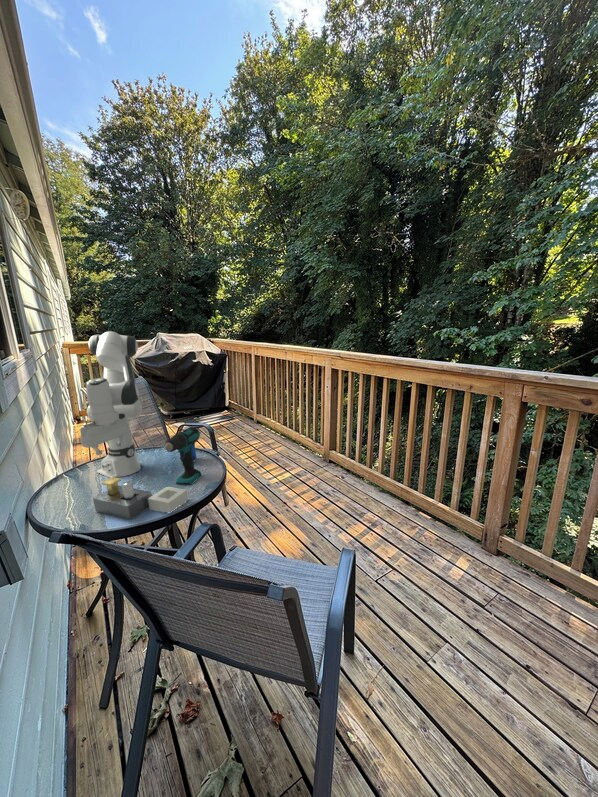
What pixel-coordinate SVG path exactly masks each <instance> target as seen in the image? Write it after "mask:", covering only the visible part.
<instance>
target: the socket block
mask: <svg viewBox="0 0 598 797" xmlns="http://www.w3.org/2000/svg"><path fill="white" fill-rule="evenodd" d="M118 487H119V492H120V493H118V494H116V495H114V496H110V495H108V490H105V491H104V492H102V493H100V494H98V495H97V496H95V497H92V500H93V504H94V505H93V506H94V511H95V512H96V511H98V512H99V513H101V514H106V515H110V516H113V517H118V518H122V519H126V520H129V521H131V520H132V519H134V518H135V517H137V516H138V515H140V514H141V513H143V512H144V511H146V510H147V509H150V508H149V502H148V498H150V497H151V496H153V493H152V491H149V490H145V489H144V490H142V489H139V488H134V487H133V489H134V494H135V497H134V498H132V499H131V500H129V501H128V500H124V495H123V489H122V485H119V484H118ZM98 512H97V513H98Z"/></svg>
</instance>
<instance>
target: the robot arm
mask: <svg viewBox="0 0 598 797" xmlns="http://www.w3.org/2000/svg"><path fill="white" fill-rule="evenodd" d="M88 348H89V351H90V353H91V354H92V355H94V356H96V360H97V362H98V363H99V364H100V366H102V367H103V374H102V375H103V376H102V377H96V378H93V379H90V380H88V381H86V386H85V388H86V399H87V404H88V407H87V409H86V414H87V417H88V418H89V420H90V421H91V422H88V423H84V424H83V425H82V426H81V427H80V429H79V430H80V443H81V446H82V447H84V448H88V449H91V448H92V449H93V450H94V451H95V454H96V456H101V455H103V450H102V449H99V445H101V444H104V443H106V442H108V446H109V447H107V448H106V451H108V452H107V453H108V454H107V455H106V456H105V457H104V458H103V459H102V460H101V462H100V468H99V469H97V470H96V473H97V472H98V473H97V474H99V473H100V474H99V475H101V474H102V475H101V476H103V475H104V476H103V477H107V478H108V479H109V478H111V477H115V478H120V477H127V476H130V475H132V474H135V473H136V472H139V471H140V470H141V465H142V462H141V461H140V460H139V456H138V453H137V451H136V445H135V443H134V441H133V435H132V431H131V428H130V423H129V420H130V421H131V420H134V419H137V418H139V417H140V416H141V414H142V412H143V405H142V403H141V401H140V400H139V398H140V391H139V388H138V386H137V383H136V378H135V372H134V368H133V366H132V362H131V360H130V359H131V358H133V357H134V356H135V355H136V354H137V352H138V350H139V344H138V341H137V338H135V337H134V336H133V335H132V336H131V335H122V334H119V333H118V332H115V331H112V330H111V331H105V332H104V333H102V334H99V333H98V334H94V335H92V336H90V338H89V340H88Z"/></svg>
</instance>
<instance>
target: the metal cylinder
mask: <svg viewBox="0 0 598 797" xmlns="http://www.w3.org/2000/svg"><path fill="white" fill-rule="evenodd" d="M121 486H122V489H123V495H124V500H128V501H129V500H131V499H132V498H134V497H135V494H134V489H135V488H134V484H133V481H131V480H128V481H125V482H122V483H121ZM133 488H134V489H133Z"/></svg>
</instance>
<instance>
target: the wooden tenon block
mask: <svg viewBox="0 0 598 797" xmlns="http://www.w3.org/2000/svg"><path fill="white" fill-rule="evenodd" d="M121 481H122V478H120V477H116V478H115V477H111V478H108V479H106V480H104V481H102V482H101V484H102V485H104V486H106V489H107V490H106V491H108V495H110V496H114V495H116V494H118V493H120V492H119V487H118V485H119V483H120V482H121Z"/></svg>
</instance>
